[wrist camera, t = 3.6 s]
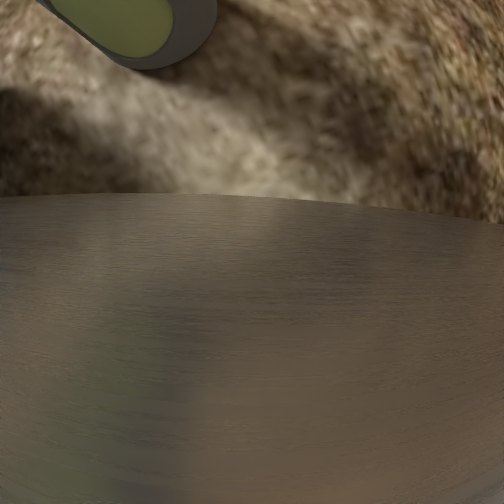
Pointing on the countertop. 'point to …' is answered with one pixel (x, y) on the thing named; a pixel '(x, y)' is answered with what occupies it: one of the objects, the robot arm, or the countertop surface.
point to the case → (248, 352)
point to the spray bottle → (140, 27)
